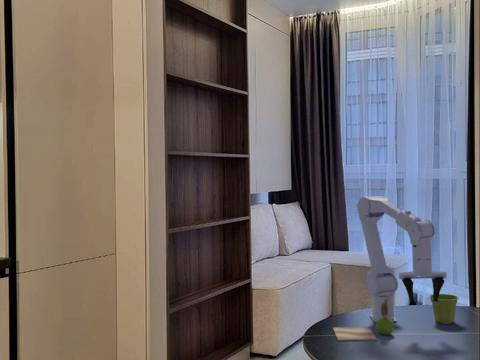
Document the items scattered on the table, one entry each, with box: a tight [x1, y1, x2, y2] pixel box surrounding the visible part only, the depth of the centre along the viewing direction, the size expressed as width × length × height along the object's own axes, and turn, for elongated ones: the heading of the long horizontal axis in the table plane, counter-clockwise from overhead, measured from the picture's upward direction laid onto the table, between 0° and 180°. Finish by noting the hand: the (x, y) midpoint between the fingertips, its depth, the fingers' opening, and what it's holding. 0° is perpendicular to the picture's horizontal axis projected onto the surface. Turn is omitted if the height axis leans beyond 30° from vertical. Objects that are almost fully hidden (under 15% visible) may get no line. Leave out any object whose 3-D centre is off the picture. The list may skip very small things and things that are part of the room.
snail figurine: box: [375, 295, 395, 336], centre depth 165 cm, size 5×6×12 cm
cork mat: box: [332, 326, 378, 342], centre depth 166 cm, size 14×12×1 cm
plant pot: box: [429, 293, 459, 325], centre depth 178 cm, size 9×9×9 cm
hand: (423, 301), depth 165 cm, fingers open, 7 cm apart
